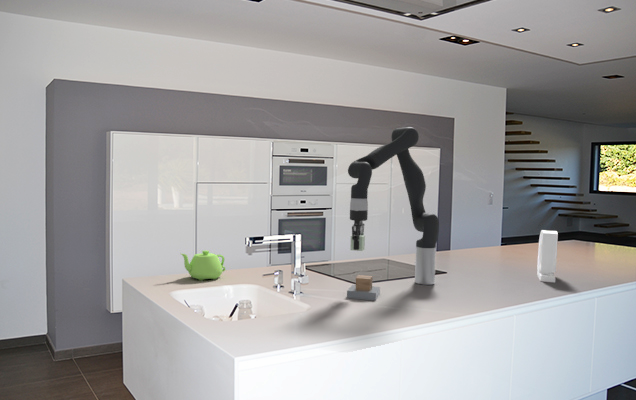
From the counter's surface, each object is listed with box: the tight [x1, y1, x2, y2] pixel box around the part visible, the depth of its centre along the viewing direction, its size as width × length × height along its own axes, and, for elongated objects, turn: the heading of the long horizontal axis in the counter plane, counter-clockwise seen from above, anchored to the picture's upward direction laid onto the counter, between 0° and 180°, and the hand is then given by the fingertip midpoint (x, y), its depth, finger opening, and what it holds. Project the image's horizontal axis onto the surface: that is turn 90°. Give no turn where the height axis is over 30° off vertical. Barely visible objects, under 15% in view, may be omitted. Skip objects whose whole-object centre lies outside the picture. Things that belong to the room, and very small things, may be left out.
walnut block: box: [355, 274, 373, 291], centre depth 220 cm, size 6×6×5 cm
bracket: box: [536, 229, 559, 283], centre depth 268 cm, size 7×21×25 cm, turn 162°
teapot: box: [180, 249, 226, 281], centre depth 247 cm, size 22×15×13 cm
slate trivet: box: [346, 284, 381, 301], centre depth 221 cm, size 12×12×3 cm
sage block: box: [349, 234, 366, 252], centre depth 224 cm, size 5×5×6 cm
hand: (357, 248), depth 224 cm, fingers closed on sage block, 5 cm apart
